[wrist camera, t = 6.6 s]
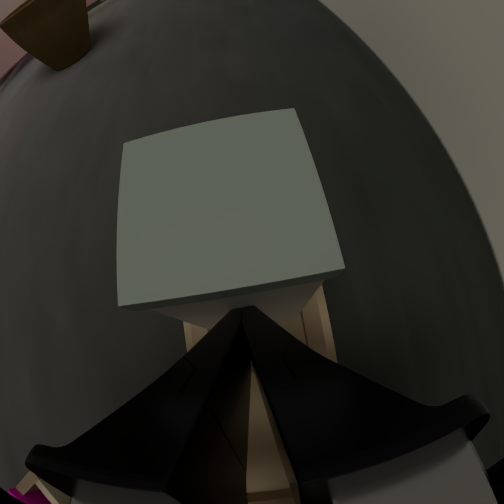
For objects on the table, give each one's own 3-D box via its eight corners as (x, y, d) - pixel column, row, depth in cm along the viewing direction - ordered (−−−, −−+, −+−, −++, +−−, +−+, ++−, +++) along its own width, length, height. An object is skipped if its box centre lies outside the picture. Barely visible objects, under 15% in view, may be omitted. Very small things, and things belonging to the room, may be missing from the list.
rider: (298, 320, 17) (345, 268, 6) (214, 334, 17) (118, 306, 6) (283, 246, 19) (294, 108, 8) (205, 260, 19) (123, 143, 8)
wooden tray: (350, 480, 14) (359, 495, 12) (222, 500, 14) (215, 517, 12) (300, 212, 21) (304, 194, 19) (179, 234, 21) (168, 219, 19)
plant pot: (91, 30, 37) (66, -26, 22) (121, 39, 33) (91, -35, 18) (31, 76, 35) (-4, 23, 20) (46, 95, 31) (-1, 25, 15)
